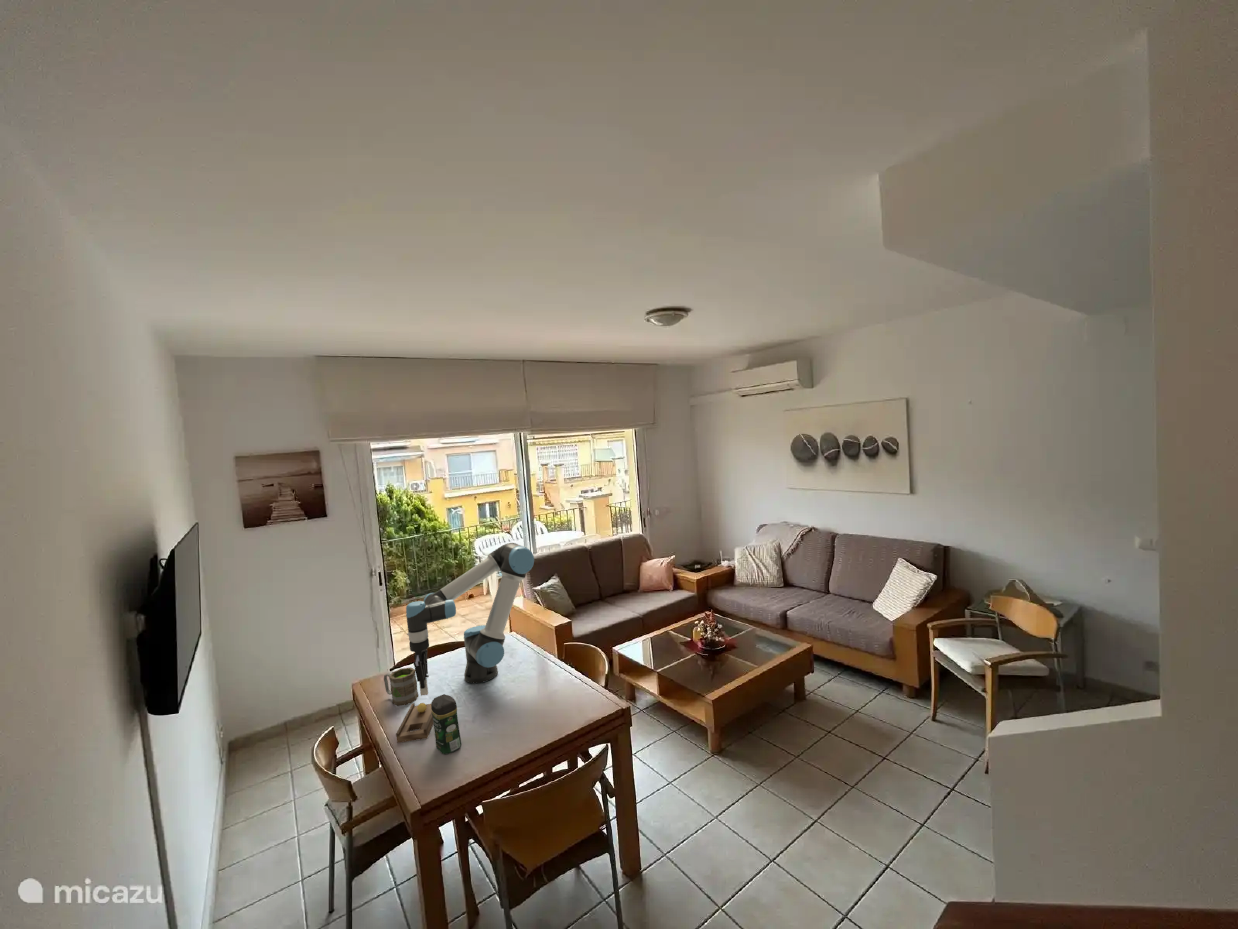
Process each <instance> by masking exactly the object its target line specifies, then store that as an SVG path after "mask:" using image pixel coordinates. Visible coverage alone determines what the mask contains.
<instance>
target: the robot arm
mask: <svg viewBox="0 0 1238 929" xmlns="http://www.w3.org/2000/svg"><path fill="white" fill-rule="evenodd" d="M534 556H535V555H534V554H533V552H532V551H531V550H530V549H529V548H528V547H527V546H524V545H521V544H518V543H516V542H508V543H505V544H502V545H500V546H499V547H498V548H496V549H495V550H493V551H491V552H490V553H489V554H487V557H486V558H485V559H483V560H482V561H480V562H479V563H477V564H476V565H474V566H473V567H472V568H470V569H469V570H467V571H466V572H465V573H463V574H461V575H459V576H458V577H457V578H455V579H453V580H452V581H451V582H449V583H448V584H446V585H444V586H443V587H442V588H440V589H439V590H437V591H436V592H430V593H427V595H425V596H424V598H423V600H419V601H413V602H410V603H408V604H407V605H406V607H405V613H406V615H405V616H406V624H407V633H406V635H407V636H408V640H409V650H410V652H413V653H414V656H413V657H414V661H413V666H414V669H415V675H416V681H417V683H419V684H418V685H419V692H420V696H421V697H422V696H428V694H429V687H428V678H429V676H430V675H429V672H428V670H429V669H428V649H429V648H430V641H429V630H428V624H431V623H434V622H439V621H443V620H448V619H451V618H454V617H455V616H456V614H457V607H456V603H455V600H457V599H458V598H460V596H462V595H463V594H465V593H466V592H468V591H470V590H471V589H472V588H474V587H475V586H476V585H478V584H480V583H481V582H483V581H484V580H486V579H487V578H488V577H490V576H491V575H493V574H494V573H495V572H498V573H499V572H500V573H501V578H500V581H499V584H498V588H497V590H496V593H495V597H494V599H493V602H492V605H491V609H490V611H489V615H488V617H487V620H486V624H482V625H476V626H473V627H470V628H467V629H466V630H465V631H464V632H463V641H464V649H465V658H466V664H465V669H464V674H463V676H464V681H465V682H466V683H468V684H480V683H484V682H488V681H491V680H492V679H494V678H496V676H497V675H498V672H499V671H498V666H497V665H498V664H500V663H501V662H502V660H503V658H504V656H505V648H504V643H505V640H506V636H505V634H504V632H505V629H506V626H507V623H508V620H509V617H510V614H511V610H512V608H513V604H514V601H515V599H516V596H517V592H518V589H519V586H520V583H521V582H522V581H523V580H525V579H526V576H527V574H528V572H530V571H532V568H533V567H534V563H535V557H534Z"/></svg>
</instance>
